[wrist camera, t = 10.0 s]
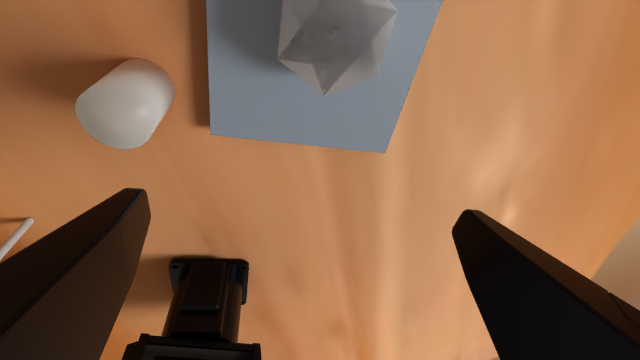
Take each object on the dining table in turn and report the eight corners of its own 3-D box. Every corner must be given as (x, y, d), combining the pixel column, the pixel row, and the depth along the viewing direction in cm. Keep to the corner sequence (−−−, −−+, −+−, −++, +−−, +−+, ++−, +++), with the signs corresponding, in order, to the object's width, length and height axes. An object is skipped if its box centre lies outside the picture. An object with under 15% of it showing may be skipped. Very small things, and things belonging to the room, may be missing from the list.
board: (380, 145, 21) (385, 153, 20) (213, 126, 18) (210, 134, 17) (485, -146, 12) (500, -152, 11) (203, -245, 10) (197, -261, 9)
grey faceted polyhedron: (356, 80, 16) (370, 102, 14) (274, 67, 16) (274, 89, 13) (386, -34, 13) (409, -29, 11) (286, -58, 12) (288, -58, 10)
